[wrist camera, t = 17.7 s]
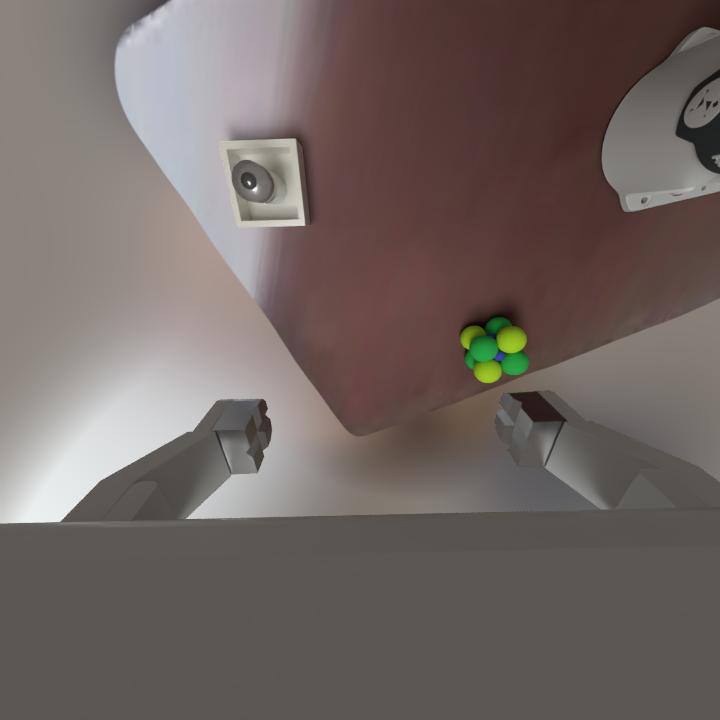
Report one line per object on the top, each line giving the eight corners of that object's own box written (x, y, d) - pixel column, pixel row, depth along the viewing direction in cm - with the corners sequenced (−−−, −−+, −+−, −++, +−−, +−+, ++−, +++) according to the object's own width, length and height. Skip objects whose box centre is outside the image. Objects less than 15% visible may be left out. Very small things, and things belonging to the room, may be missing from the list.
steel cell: (284, 171, 38) (262, 158, 29) (288, 204, 40) (269, 200, 31) (256, 172, 38) (225, 159, 29) (261, 205, 40) (234, 202, 31)
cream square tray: (302, 146, 37) (295, 138, 33) (310, 224, 42) (305, 225, 38) (233, 149, 37) (218, 141, 33) (248, 226, 42) (236, 227, 38)
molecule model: (503, 310, 48) (454, 326, 50) (531, 328, 40) (472, 347, 42) (509, 351, 52) (463, 365, 54) (535, 374, 44) (481, 391, 46)
